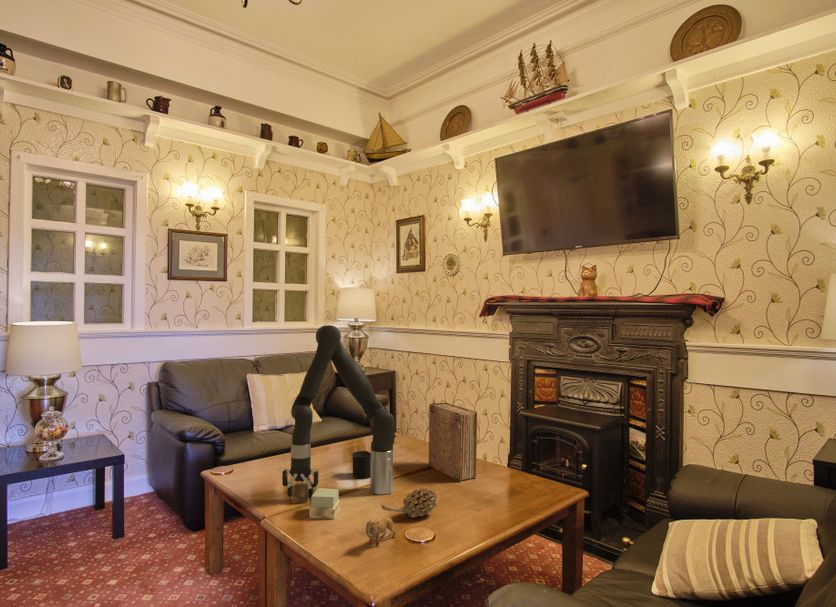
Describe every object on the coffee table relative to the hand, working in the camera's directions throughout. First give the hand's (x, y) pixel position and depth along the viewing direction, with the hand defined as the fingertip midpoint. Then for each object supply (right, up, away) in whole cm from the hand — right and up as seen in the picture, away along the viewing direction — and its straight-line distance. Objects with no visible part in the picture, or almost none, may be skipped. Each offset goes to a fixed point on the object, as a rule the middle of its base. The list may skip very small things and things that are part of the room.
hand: (300, 496), depth 196 cm
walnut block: (0, -1, 0) cm, 1 cm away
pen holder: (+21, -2, +30) cm, 36 cm away
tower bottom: (+12, -2, -12) cm, 17 cm away
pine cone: (+43, -2, -14) cm, 45 cm away
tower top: (+12, +2, -12) cm, 17 cm away
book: (+62, -3, +37) cm, 72 cm away
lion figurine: (+34, -2, -34) cm, 48 cm away
